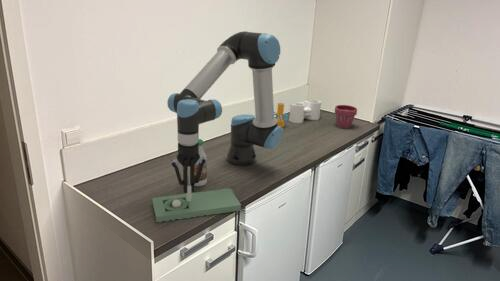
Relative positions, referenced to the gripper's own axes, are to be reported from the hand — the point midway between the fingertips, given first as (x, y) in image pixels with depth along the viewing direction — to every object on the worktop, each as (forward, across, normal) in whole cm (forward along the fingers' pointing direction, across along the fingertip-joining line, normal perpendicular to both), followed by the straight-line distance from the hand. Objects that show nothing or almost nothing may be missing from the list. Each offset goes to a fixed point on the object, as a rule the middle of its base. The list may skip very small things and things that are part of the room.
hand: (188, 199), depth 146 cm
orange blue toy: (+4, -76, -85) cm, 114 cm away
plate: (+4, -3, 0) cm, 5 cm away
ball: (+2, +5, 0) cm, 5 cm away
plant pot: (+4, -119, -76) cm, 141 cm away
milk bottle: (+4, -8, -20) cm, 22 cm away
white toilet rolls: (+4, -100, -95) cm, 138 cm away
